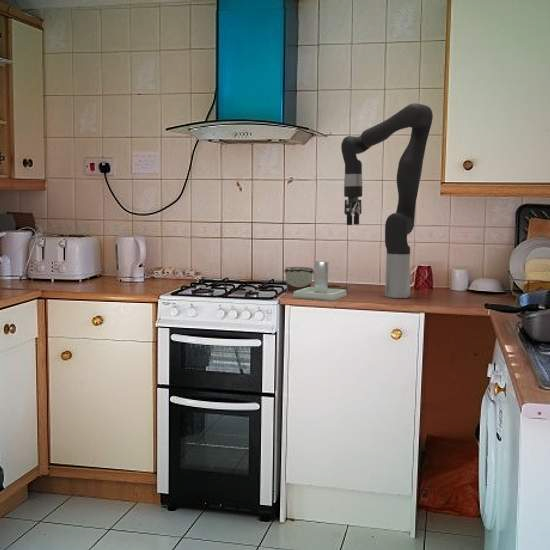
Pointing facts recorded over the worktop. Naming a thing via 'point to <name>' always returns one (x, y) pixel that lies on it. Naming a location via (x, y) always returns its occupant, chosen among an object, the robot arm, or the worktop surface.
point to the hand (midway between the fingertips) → (353, 224)
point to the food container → (298, 278)
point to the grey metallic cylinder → (321, 277)
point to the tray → (320, 294)
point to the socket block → (337, 287)
